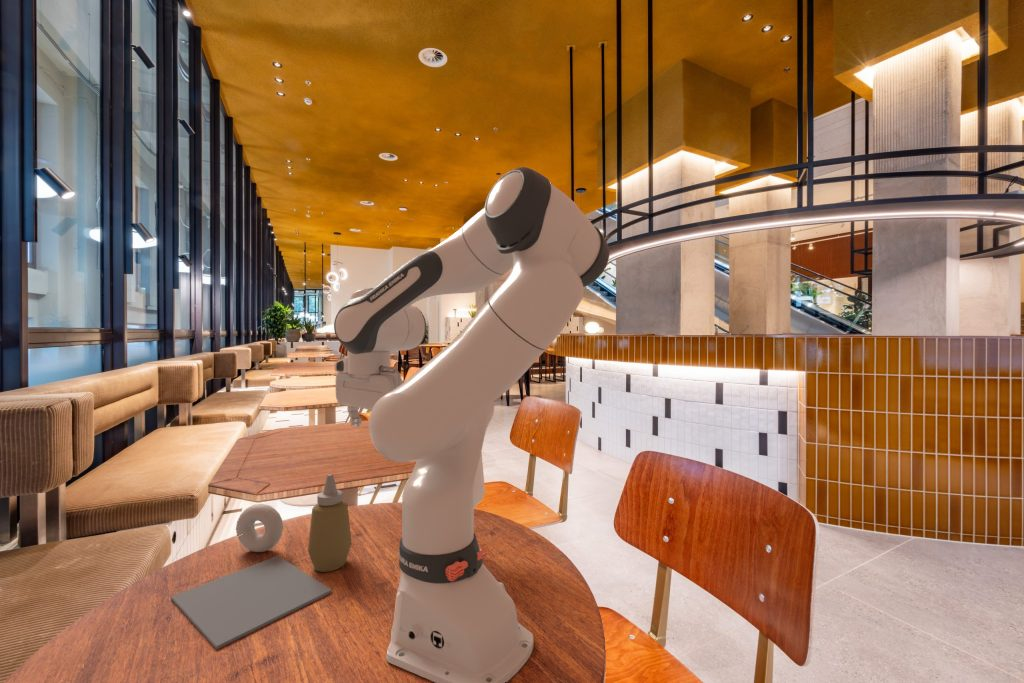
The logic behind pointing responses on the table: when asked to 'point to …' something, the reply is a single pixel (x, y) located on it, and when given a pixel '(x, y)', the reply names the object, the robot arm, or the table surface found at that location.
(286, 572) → the mat
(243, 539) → the donut
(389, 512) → the table surface
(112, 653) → the table surface
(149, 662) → the table surface
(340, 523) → the squeeze bottle
